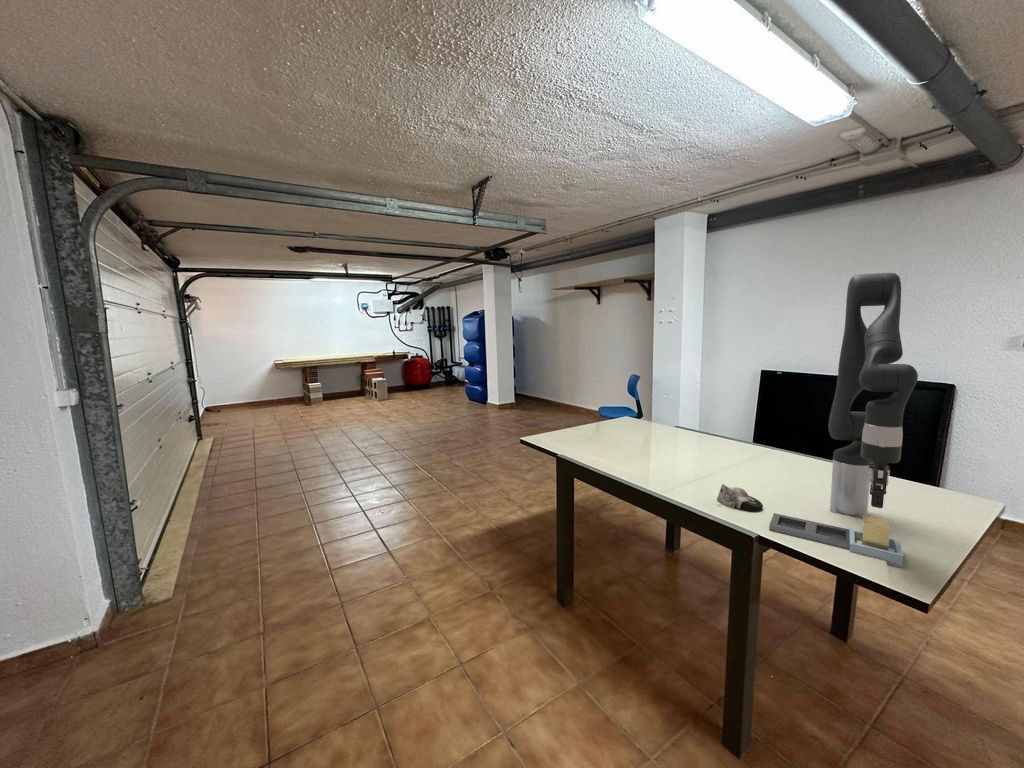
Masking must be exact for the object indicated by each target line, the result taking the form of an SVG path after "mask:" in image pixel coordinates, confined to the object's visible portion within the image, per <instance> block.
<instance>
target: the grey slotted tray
mask: <svg viewBox="0 0 1024 768" xmlns="http://www.w3.org/2000/svg"><path fill="white" fill-rule="evenodd" d="M768 526H769V527H768V530H769V531H770V532H776V533H780V534H784V535H788V536H792V537H795V538H796V537H797V538H799V539H800V538H801V539H804V540H805V539H806V540H809V541H813V542H816V543H821V544H826V545H829V546H833V547H837V548H840V549H841V548H842V549H847V550H849V547H850V536H849V529H850V528H849V529H848V528H845V527H841V526H835V525H831V524H826V523H823V522H818V521H813V520H808V519H803V518H799V517H794V516H789V515H785V514H784V515H783V514H780V513H776V512H774V513H773V514H772V517H771V520H770V523H769V525H768Z"/></svg>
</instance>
